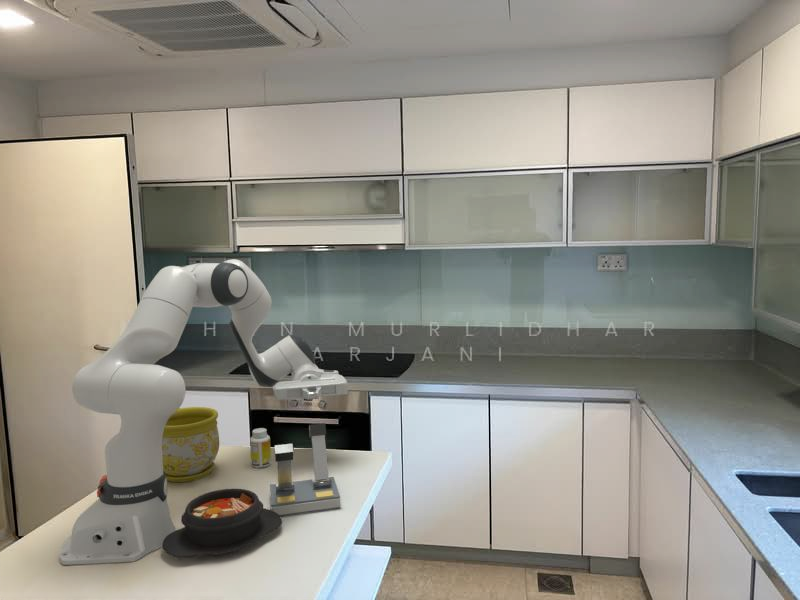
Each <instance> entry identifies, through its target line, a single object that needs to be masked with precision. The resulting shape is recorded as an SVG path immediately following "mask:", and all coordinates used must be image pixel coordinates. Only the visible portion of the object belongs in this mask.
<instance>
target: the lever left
mask: <svg viewBox="0 0 800 600" xmlns="http://www.w3.org/2000/svg"><path fill="white" fill-rule="evenodd" d="M274 457H275V460H274V461H275V463H276V467H277V468H276V469H277V483H278V487H276V493H279V492H287V491H295V489H294V485H292V482H293V478H292V477H293V474H292V473H293V472H292V470H293V469H292V467H293V466H292V463H293V460H294V446H293V443H287V444H285V443H283V444H277V445H276V444H275V445H274Z"/></svg>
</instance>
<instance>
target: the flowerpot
mask: <svg viewBox="0 0 800 600" xmlns="http://www.w3.org/2000/svg"><path fill="white" fill-rule="evenodd" d="M218 417H219V413H218V410H216V409H214V408H212V407H211V408H210V407H204V406H190V407H182V408H181V407H180V408H179V409H178V410H177V411H176V412H175V413H174V414H172V415H171V416H170V418H169V419H168V421H167V423H166V425H165V428H164V432H163V436H162V460H163V470H164V471H165V474H166V478H167V482H172V483H185V482H186V483H187V482H192V481H196V480H199V479H202V478H204V477H206V476H208V475H209V474H210V473H211V471H212V470H213V469H214V468H215V463H214V461H215V460H216V457H217V456H218V453H219V450H220V434H219V428H218V420H217V419H218Z"/></svg>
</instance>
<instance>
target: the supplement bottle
mask: <svg viewBox="0 0 800 600" xmlns="http://www.w3.org/2000/svg"><path fill="white" fill-rule="evenodd" d="M267 431H268V430H267V428H264V427H259V428H254V429H253V430H252V432H251V433H252V436H251V437H250V438H249V446H250V459H251V460H250V461H251V462H250V463H251V466H252V467H253V468H257V469H262V468H266V467H268V466H270V465H271V464H272V451H271V450H272V449H271V437H270V435H269V434H268V432H267Z"/></svg>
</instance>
